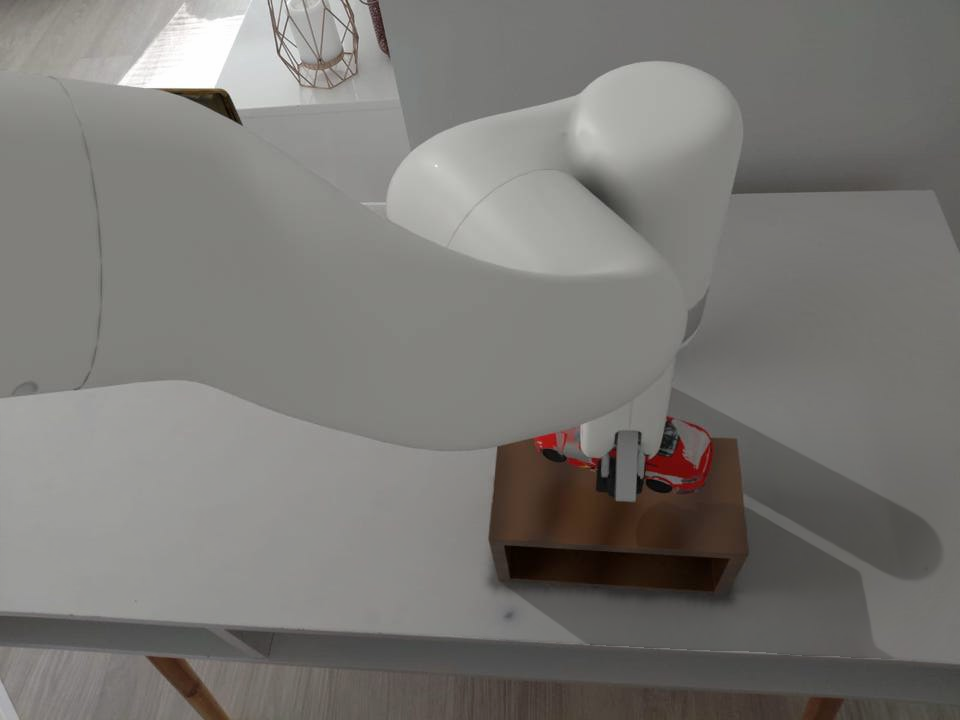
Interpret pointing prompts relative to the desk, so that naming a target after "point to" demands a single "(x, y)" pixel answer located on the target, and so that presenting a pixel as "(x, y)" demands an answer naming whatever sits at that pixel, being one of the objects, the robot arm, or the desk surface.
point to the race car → (672, 467)
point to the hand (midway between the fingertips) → (618, 445)
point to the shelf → (615, 527)
